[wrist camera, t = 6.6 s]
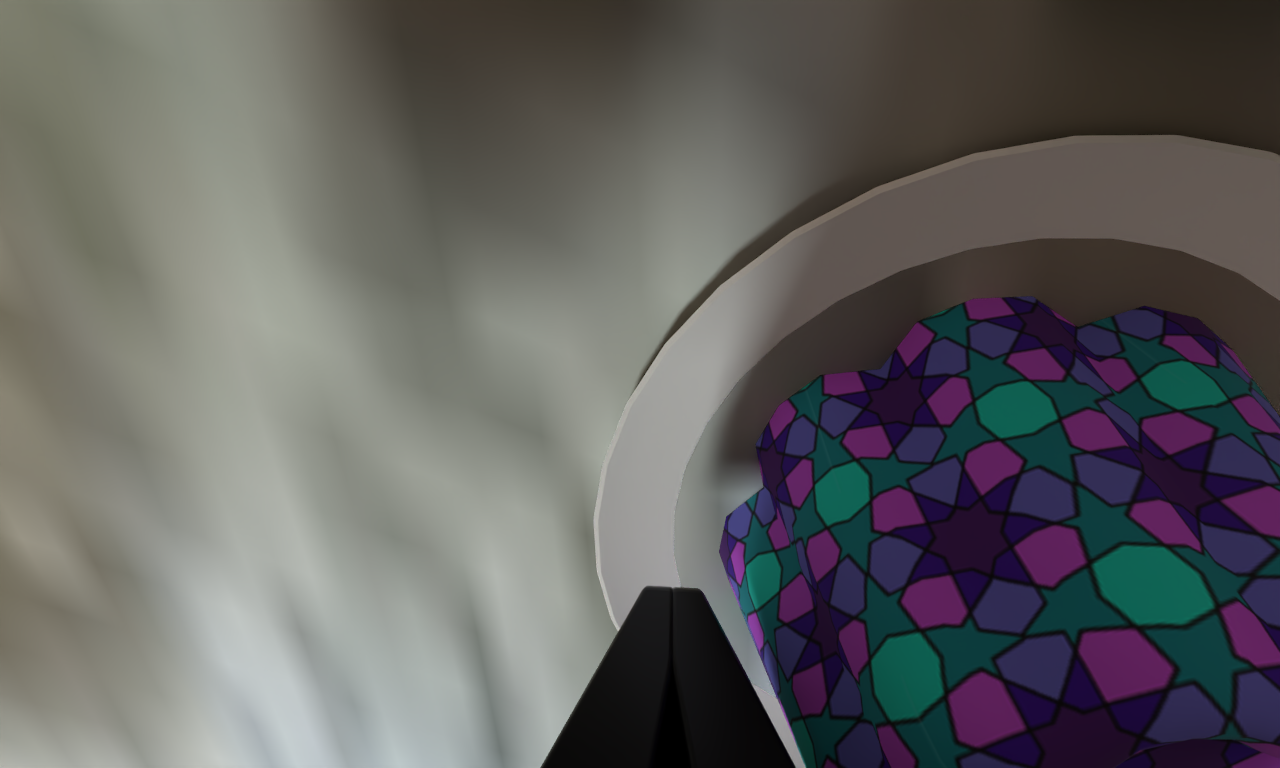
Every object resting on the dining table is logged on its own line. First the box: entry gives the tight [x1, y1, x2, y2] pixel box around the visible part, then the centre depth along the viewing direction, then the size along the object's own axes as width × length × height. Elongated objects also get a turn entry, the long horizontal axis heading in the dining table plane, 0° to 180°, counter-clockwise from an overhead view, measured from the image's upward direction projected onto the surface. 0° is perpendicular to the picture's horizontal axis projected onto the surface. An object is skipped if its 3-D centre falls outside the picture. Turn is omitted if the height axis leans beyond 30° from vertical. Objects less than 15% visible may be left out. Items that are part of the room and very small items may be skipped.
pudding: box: [594, 135, 1280, 768], centre depth 9 cm, size 12×12×5 cm
